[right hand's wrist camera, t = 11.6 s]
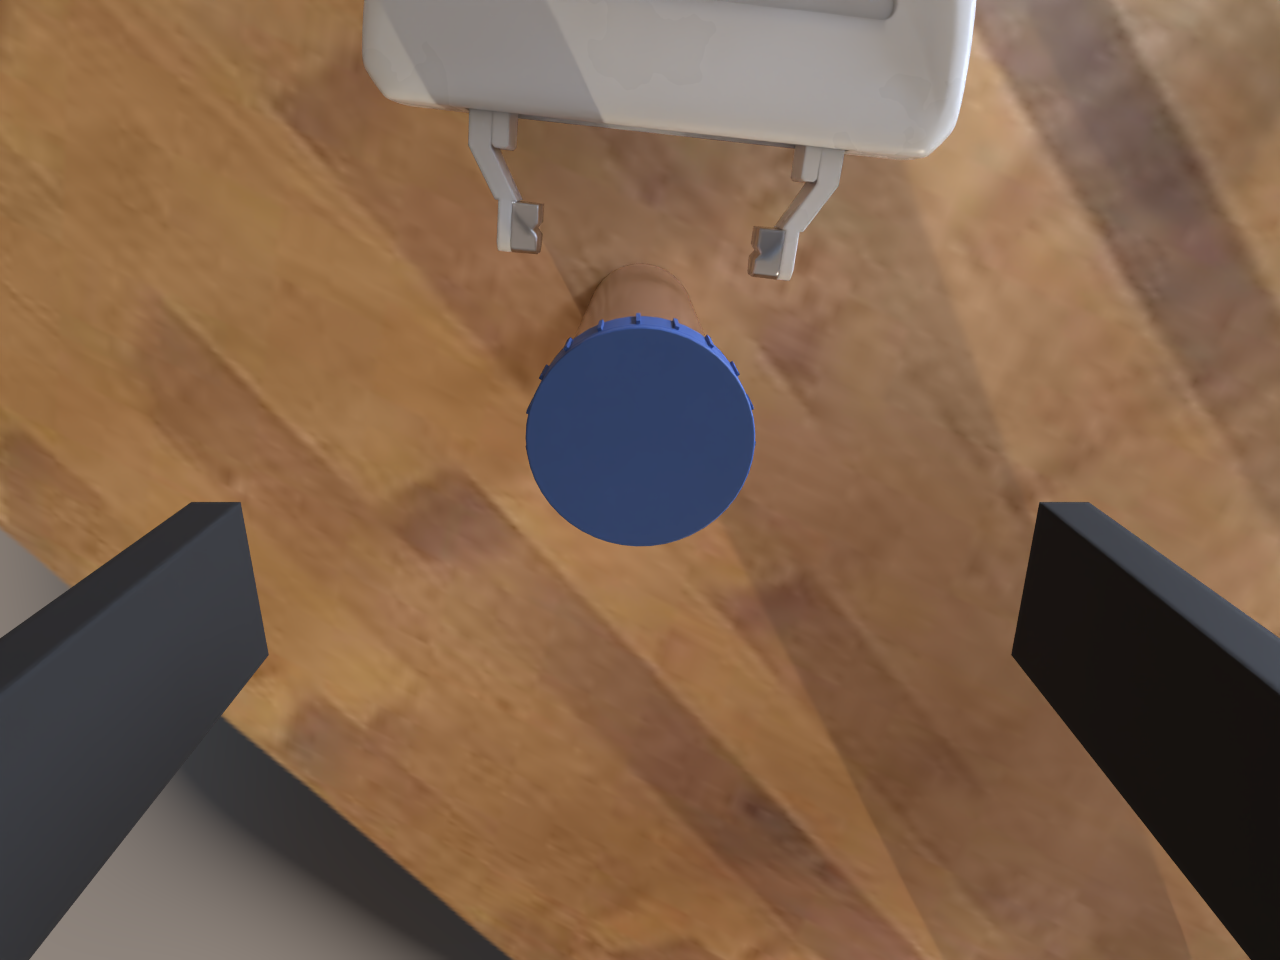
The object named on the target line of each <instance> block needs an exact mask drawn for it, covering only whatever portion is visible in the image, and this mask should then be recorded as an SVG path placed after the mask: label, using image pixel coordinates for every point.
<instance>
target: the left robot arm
mask: <svg viewBox="0 0 1280 960" xmlns="http://www.w3.org/2000/svg"><path fill="white" fill-rule="evenodd" d="M975 8H976V0H364V9H363V30H362V57H363V64H364V67H365V69H366V71H367V73H368V74H369V76H370V77H371V79H372V81H373V82H374V83H375V85H376V86H377V87H378V89H379V90H380V91H381V93H382V94H383V95H384V96H385V97H386V98H387V99H389V100H392V101H394V102H397V103H399V104H403V105H407V106H413V107H421V108H430V109H439V110H448V111H457V112H466V113H469V140H468V145H469V147H470V149H471V152H472V154H473V156H474V158H475V160H476V162H477V164H478V166H479V168H480V170H481V172H482V174H483V176H484V178H485V180H486V182H487V184H488V186H489V188H490V190H491V192H492V194H493V196H494V198H495V199H497V200H498V225H497V247H498V250H499V251H507V252H517V253H529V254H538V253H540V251H541V246H542V232H541V231H540V229H539V226H540V225H541V224H542V222H543V214H544V204H542V203H534V202H526V201H520V200H523V199H522V197H521V195H520V192H519V190H518V188H517V186H516V184H515V181H514V179H513V177H512V175H511V173H510V170H509V168H508V166H507V164H506V162H505V159H504V157H503V155H502V153H501V149H503V150H510V151H513V150H515V149H516V147H517V128H518V118H521V119H530V120H539V121H548V122H557V123H566V124H575V125H585V126H594V127H603V128H612V129H621V130H630V131H639V132H648V133H657V134H666V135H675V136H685V137H694V138H703V139H712V140H721V141H730V142H739V143H748V144H757V145H766V146H775V147H785V148H794V149H795V151H794V158H793V165H792V172H791V179H792V180H793V181H796V182H805V185H804V186H803V188H802V189H801V190H800V192H799V193H798V195H797V196H796V197H795V199H794V200H793V201H792V203H791V204H790V206H789V207H788V208H787V210H786V211H785V212H784V214H783V215H782V217H781V218H780V219H779V221H778V222H777V224H776V225H775V226H774V227H776V228H771V227H759V226H753V233H752V239H751V245H752V247H753V249H754V251H753V252H752V253H751V254H750V255H749V261H748V274H749V275H750V276H752V277H760V278H768V279H778V280H786V281H790V279H791V276H792V273H793V268H794V262H795V256H796V250H797V244H798V238H799V232H803V231H804V230H805V229H806V227H807V226H808V225H809V223H810V222H811V221H812V220H813V218H814V217H815V216H816V214H817V213H818V212H819V210H820V209H821V208H822V207H823V205H824V204H825V203H826V201H827V200H828V199H829V198H830V196H831V195H832V194H833V192H834V191H835V190H836V188H837V187H838V186H839V180H840V175H841V169H842V164H843V158H844V154H848V155H857V156H866V157H876V158H885V159H894V160H913V159H920V158H924V157H927V156H928V155H930V154H931V153H932V152H933V151H934V150H935V149H936V148H937V147H938V146H939V145H941V144H942V142H943V141H944V140H945V139H946V138H947V137H948V136H949V135H950V134H951V132H952V131H953V129H954V127H955V125H956V122H957V119H958V115H959V111H960V107H961V103H962V98H963V93H964V88H965V82H966V76H967V70H968V64H969V58H970V51H971V44H972V36H973V27H974V19H975Z"/></svg>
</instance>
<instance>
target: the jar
mask: <svg viewBox="0 0 1280 960" xmlns="http://www.w3.org/2000/svg"><path fill="white" fill-rule="evenodd" d="M636 313H640V315H641V316H648V317H658V318H663V319H667V320H671V321H673V318H675V319H678V323H680V324H682V325H685V326H687V327H689V328H691V329H693V330H695V331H696V332H698V333H700V334H701V335H703V336H704V337H706V336H705V334H704V331H703V329H702V327H701V324H700V322H699V320H698V317H697V315H696V312H695V310H694V308H693V305H692V303H691V301H690V298H689V296H688V294H687V292H686V290H685V288H684V286H683V285H682V284H681V283H680V281H679V280H678V279H677V278H676V277H675V276H673V275H672V274H671V273H669V272H668V271H666V270H664V269H663V268H660V267H657V266H654V265H650V264H632V265H627V266H624V267H621V268H619V269H617V270H615V271H613V272H612V273H610V274H609V275H608V276H607V277H605V278H604V279H603V280H602V282H601V283H600V284H599V285H598V287H597V288H596V290H595V292H594V294H593V296H592V298H591V301H590V303H589V305H588V308H587V310H586V312H585V315H584V317H583V319H582V322H581V324H580V326H579V329H578V331H577V333H576V336H575V337H577V336H578V335H580V334H581V333H583V332H585V331H586V330H588V329H590V328H592V327H594V326H596V325H598V323H599V321H600V320H602V319H603V320H604V322H607V321H610V320H613V319H618V318H624V317H631V316H636Z"/></svg>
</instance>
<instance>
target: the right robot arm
mask: <svg viewBox="0 0 1280 960" xmlns="http://www.w3.org/2000/svg"><path fill="white" fill-rule="evenodd" d="M268 655H269V654H268V649H267V644H266V638H265V633H264V627H263V622H262V616H261V611H260V606H259V600H258V595H257V589H256V584H255V578H254V573H253V567H252V562H251V557H250V551H249V546H248V540H247V535H246V529H245V524H244V519H243V513H242V508H241V502H191V503H190V504H188V505H187V506H185V507H184V508H183V509H181V510H180V511H178V512H177V513H176V514H174V515H173V516H171V517H170V518H169V519H167V520H166V521H164V522H163V523H162V524H160V525H159V526H157V527H156V528H155V529H153V530H152V531H150V532H149V533H147V534H146V535H145V536H143V537H142V538H140V539H139V540H138V541H136V542H135V543H133V544H132V545H131V546H129V547H128V548H126V549H125V550H124V551H122V552H121V553H119V554H118V555H117V556H115V557H114V558H112V559H111V560H110V561H108V562H107V563H105V564H104V565H103V566H101V567H100V568H98V569H97V570H96V571H94V572H93V573H91V574H90V575H89V576H87V577H86V578H84V579H83V580H82V581H80V582H79V583H77V584H76V585H75V586H73V587H72V588H70V589H69V590H68V591H66V592H65V593H63V594H62V595H61V596H59V597H58V598H56V599H55V600H54V601H52V602H51V603H49V604H48V605H46V606H45V607H44V608H42V609H41V610H39V611H38V612H37V613H35V614H34V615H32V616H31V617H30V618H28V619H27V620H25V621H24V622H23V623H21V624H20V625H18V626H17V627H16V628H14V629H13V630H11V631H10V632H9V633H7V634H6V635H4V636H3V637H2V638H0V960H29V959H30V958H31V957H32V955H33V954H34V953H35V951H36V950H37V949H38V948H39V946H40V945H41V944H42V943H43V941H44V940H45V939H46V938H47V936H48V935H49V934H50V932H51V931H52V930H53V928H54V927H55V926H56V925H57V924H58V922H59V921H60V920H61V918H62V917H63V916H64V915H65V913H66V912H67V911H68V910H69V908H70V907H71V906H72V904H73V903H74V902H75V901H76V899H77V898H78V897H79V896H80V894H81V893H82V892H83V890H84V889H85V888H86V887H87V885H88V884H89V883H90V882H91V880H92V879H93V878H94V876H95V875H96V874H97V873H98V871H99V870H100V869H101V868H102V866H103V865H104V864H105V862H106V861H107V860H108V859H109V857H110V856H111V855H112V853H113V852H114V851H115V850H116V848H117V847H118V846H119V845H120V843H121V842H122V841H123V840H124V838H125V837H126V836H127V834H128V833H129V832H130V831H131V829H132V828H133V827H134V826H135V824H136V823H137V822H138V820H139V819H140V818H141V817H142V815H143V814H144V813H145V812H146V810H147V809H148V808H149V806H150V805H151V804H152V803H153V801H154V800H155V799H156V798H157V796H158V795H159V794H160V793H161V791H162V790H163V789H164V787H165V786H166V785H167V784H168V782H169V781H170V780H171V778H172V777H173V776H174V775H175V773H176V772H177V771H178V770H179V768H180V767H181V766H182V764H183V763H184V762H185V761H186V759H187V758H188V757H189V756H190V754H191V753H192V752H193V751H194V749H195V748H196V747H197V745H198V744H199V743H200V742H201V740H202V739H203V738H204V737H205V735H206V734H207V733H208V731H209V730H210V729H211V728H212V726H213V725H214V724H215V723H216V721H217V720H218V719H219V717H220V716H221V715H222V714H223V712H224V711H225V710H226V709H227V707H228V706H229V705H230V703H231V702H232V701H233V700H234V698H235V697H236V696H237V695H238V693H239V692H240V691H241V689H242V688H243V687H244V686H245V684H246V683H247V682H248V681H249V679H250V678H251V677H252V675H253V674H254V673H255V672H256V670H257V669H258V668H259V667H260V665H261V664H262V663H263V661H264V660H265V659H266V658H267V656H268ZM1011 655H1012V656H1013V658H1014V659H1015V660H1016V661H1017V663H1018V664H1019V665H1020V667H1021V668H1022V669H1023V670H1024V672H1025V673H1026V674H1027V675H1028V677H1029V678H1030V679H1031V681H1032V682H1033V683H1034V684H1035V686H1036V687H1037V688H1038V689H1039V691H1040V692H1041V693H1042V695H1043V696H1044V697H1045V698H1046V700H1047V701H1048V702H1049V703H1050V705H1051V706H1052V707H1053V709H1054V710H1055V711H1056V712H1057V714H1058V715H1059V716H1060V717H1061V719H1062V720H1063V721H1064V723H1065V724H1066V725H1067V726H1068V728H1069V729H1070V730H1071V731H1072V733H1073V734H1074V735H1075V737H1076V738H1077V739H1078V740H1079V742H1080V743H1081V744H1082V745H1083V747H1084V748H1085V749H1086V751H1087V752H1088V753H1089V754H1090V756H1091V757H1092V758H1093V759H1094V761H1095V762H1096V763H1097V765H1098V766H1099V767H1100V768H1101V770H1102V771H1103V772H1104V773H1105V775H1106V776H1107V777H1108V778H1109V780H1110V781H1111V782H1112V784H1113V785H1114V786H1115V787H1116V789H1117V790H1118V791H1119V792H1120V794H1121V795H1122V796H1123V798H1124V799H1125V800H1126V801H1127V803H1128V804H1129V805H1130V806H1131V808H1132V809H1133V810H1134V812H1135V813H1136V814H1137V815H1138V817H1139V818H1140V819H1141V820H1142V822H1143V823H1144V824H1145V826H1146V827H1147V828H1148V829H1149V831H1150V832H1151V833H1152V834H1153V836H1154V837H1155V838H1156V840H1157V841H1158V842H1159V843H1160V845H1161V846H1162V847H1163V848H1164V850H1165V851H1166V852H1167V854H1168V855H1169V856H1170V857H1171V859H1172V860H1173V861H1174V862H1175V864H1176V865H1177V866H1178V868H1179V869H1180V870H1181V871H1182V873H1183V874H1184V875H1185V876H1186V878H1187V879H1188V880H1189V882H1190V883H1191V884H1192V885H1193V887H1194V888H1195V889H1196V890H1197V892H1198V893H1199V894H1200V896H1201V897H1202V898H1203V899H1204V901H1205V902H1206V903H1207V904H1208V906H1209V907H1210V908H1211V910H1212V911H1213V912H1214V913H1215V915H1216V916H1217V917H1218V918H1219V920H1220V921H1221V922H1222V924H1223V925H1224V926H1225V927H1226V929H1227V930H1228V931H1229V932H1230V934H1231V935H1232V936H1233V938H1234V939H1235V940H1236V941H1237V943H1238V944H1239V945H1240V946H1241V948H1242V949H1243V950H1244V952H1245V953H1246V954H1247V955H1248V957H1249V958H1250V959H1251V960H1280V638H1278V637H1277V636H1276V635H1274V634H1273V633H1271V632H1270V631H1269V630H1267V629H1266V628H1264V627H1263V626H1262V625H1260V624H1259V623H1257V622H1256V621H1255V620H1253V619H1252V618H1250V617H1249V616H1248V615H1246V614H1245V613H1243V612H1242V611H1241V610H1239V609H1238V608H1236V607H1235V606H1234V605H1232V604H1231V603H1229V602H1228V601H1227V600H1225V599H1224V598H1222V597H1221V596H1220V595H1218V594H1217V593H1215V592H1214V591H1212V590H1211V589H1210V588H1208V587H1207V586H1205V585H1204V584H1203V583H1201V582H1200V581H1198V580H1197V579H1196V578H1194V577H1193V576H1191V575H1190V574H1189V573H1187V572H1186V571H1184V570H1183V569H1182V568H1180V567H1179V566H1177V565H1176V564H1175V563H1173V562H1172V561H1170V560H1169V559H1168V558H1166V557H1165V556H1163V555H1162V554H1161V553H1159V552H1158V551H1156V550H1155V549H1154V548H1152V547H1151V546H1149V545H1148V544H1147V543H1145V542H1144V541H1142V540H1141V539H1140V538H1138V537H1137V536H1135V535H1134V534H1133V533H1131V532H1130V531H1128V530H1127V529H1126V528H1124V527H1123V526H1121V525H1120V524H1118V523H1117V522H1116V521H1114V520H1113V519H1111V518H1110V517H1109V516H1107V515H1106V514H1104V513H1103V512H1102V511H1100V510H1099V509H1097V508H1096V507H1095V506H1093V505H1092V504H1090V503H1089V502H1039V508H1038V513H1037V519H1036V524H1035V529H1034V535H1033V540H1032V546H1031V551H1030V557H1029V562H1028V568H1027V573H1026V578H1025V584H1024V589H1023V595H1022V600H1021V606H1020V611H1019V616H1018V622H1017V627H1016V633H1015V638H1014V644H1013V649H1012V654H1011Z"/></svg>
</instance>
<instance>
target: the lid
mask: <svg viewBox="0 0 1280 960" xmlns="http://www.w3.org/2000/svg"><path fill="white" fill-rule="evenodd" d="M739 375H740V374H739V372H738V370H737V368H736V366H735V364H734V363H733V361H732V362H729V361H728V360H727V359H726V357H725V356H724V355H723V353H722V352H721V351H720V350H719V349H718V348H717V347H716V346H715V345H714V344H713V342H712V340H711V338H710V337H709V336H708V335H706V337H704V336H703V335H701V334H700V333H698V332H696V331H695V330H693V329H691V328H689V327H687V326H685V325H682V324H680V323H678V319H675V318H673V321H671V320H667V319H663V318H658V317H648V316H641V315H640V313H636V316H631V317H624V318H618V319H613V320H610V321H607V322H604V320H603V319H602V320H600V321H599V323H598V325H596V326H594V327H592V328H590V329H588V330H586V331H585V332H583V333H581V334H580V335H578V336H577V337H575V338H574V339H572V338H571V337H570V338H569V339H568V340H567V342H566V344H565V346H564V348H563V349H562V350H561V351H560V352H559V353H558V355H557V356H556V357H555V358H554V360H553V361H552V363H551V364H550V366H548V365H546V366H545V367H544V369H543V371H542V373H541V375H540V377H539V379H541V380H542V381H541V383H540V385H539V387H538V389H537V391H536V393H535V395H534V397H533V399H532V401H531V403H530V405H529V407H528V409H527V412H526V413H527V414H528V419H527V424H526V450H527V455H528V460H529V464H530V468H531V470H532V473H533V476H534V479H535V481H536V483H537V485H538V486H539V488H540V490H541V492H542V494H543V495H544V496H545V498H546V499H547V501H548V502H549V503H550V505H551V506H552V507H553V508H554V509H555V510H556V511H557V512H558V513H559V514H560V515H561V516H562V517H563V518H564V519H566V520H567V521H568V522H569V523H571V524H572V525H574V526H575V527H577V528H578V529H580V530H581V531H583V532H585V533H587V534H589V535H591V536H593V537H596V538H598V539H601V540H604V541H607V542H611V543H616V544H620V545H628V546H653V545H660V544H666V543H670V542H673V541H677V540H680V539H682V538H685V537H687V536H690V535H692V534H694V533H696V532H698V531H699V530H701V529H703V528H705V527H706V526H707V525H709V524H710V523H711V522H713V521H714V520H716V519H717V518H718V517H719V516H720V515H721V514H722V513H723V512H724V511H725V510H726V509H727V508H728V507H729V505H730V504H731V503H732V502H733V501H734V499H735V498H736V496H737V495H738V493H739V492H740V490H741V488H742V487H743V485H744V482H745V480H746V478H747V476H748V473H749V470H750V467H751V463H752V460H753V454H754V448H755V443H756V442H755V427H754V418H753V414H752V410H753V409H754V408H753V405H752V403H751V401H750V399H749V397H748V395H747V394H746V393H745V391H744V388H743V386H742V384H741V382H740V380H739V378H738V376H739Z"/></svg>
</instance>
